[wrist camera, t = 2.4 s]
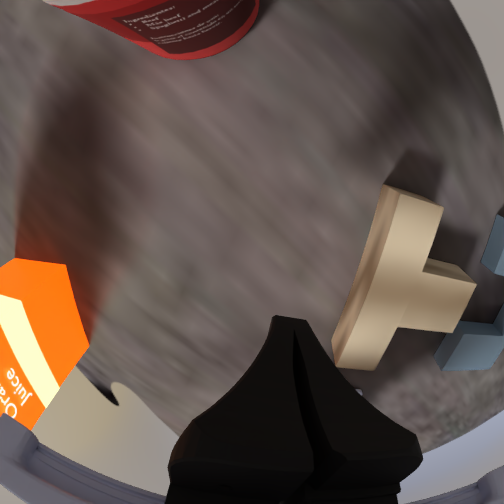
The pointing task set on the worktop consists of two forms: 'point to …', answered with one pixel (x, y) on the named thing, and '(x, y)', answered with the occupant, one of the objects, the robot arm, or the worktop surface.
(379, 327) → the t block
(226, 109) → the worktop surface
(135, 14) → the canned food
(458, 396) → the worktop surface
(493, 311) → the worktop surface
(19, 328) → the orange juice
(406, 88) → the worktop surface
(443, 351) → the dock
